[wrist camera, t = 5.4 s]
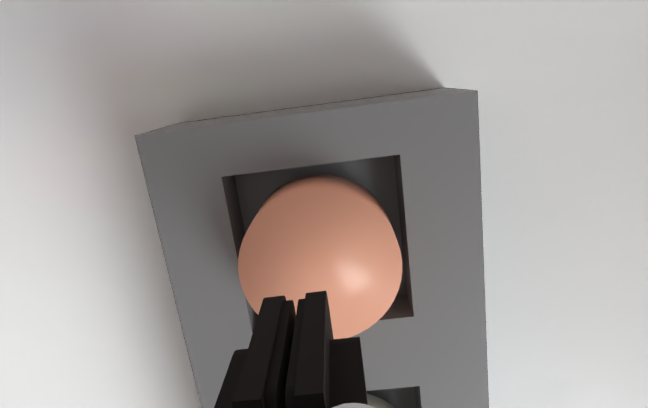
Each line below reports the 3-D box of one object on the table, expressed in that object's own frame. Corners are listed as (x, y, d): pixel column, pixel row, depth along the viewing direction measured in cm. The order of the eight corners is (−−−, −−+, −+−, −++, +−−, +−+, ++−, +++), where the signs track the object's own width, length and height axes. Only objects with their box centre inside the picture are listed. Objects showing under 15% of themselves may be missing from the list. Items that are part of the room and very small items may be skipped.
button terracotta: (386, 165, 18) (394, 180, 15) (398, 299, 19) (408, 333, 17) (239, 183, 18) (223, 201, 15) (264, 313, 20) (253, 349, 17)
